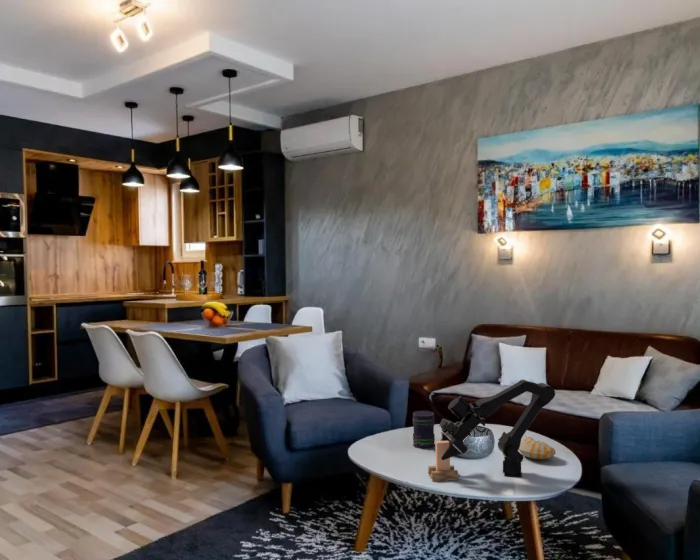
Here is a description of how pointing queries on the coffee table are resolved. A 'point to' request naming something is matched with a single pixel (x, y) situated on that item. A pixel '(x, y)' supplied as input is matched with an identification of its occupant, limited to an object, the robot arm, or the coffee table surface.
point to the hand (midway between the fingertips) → (439, 455)
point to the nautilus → (535, 449)
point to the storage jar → (423, 429)
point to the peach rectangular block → (440, 450)
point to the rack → (442, 474)
